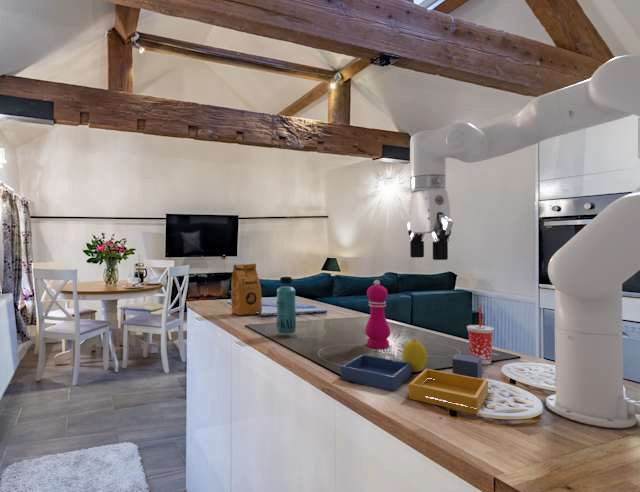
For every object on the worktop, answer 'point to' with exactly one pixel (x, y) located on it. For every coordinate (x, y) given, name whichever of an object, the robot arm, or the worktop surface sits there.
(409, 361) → the lemon
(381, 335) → the pepper mill
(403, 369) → the blue tray
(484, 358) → the beverage cup
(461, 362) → the navy block
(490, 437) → the worktop surface
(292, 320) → the beverage bottle
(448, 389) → the mustard tray
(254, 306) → the coffee package
